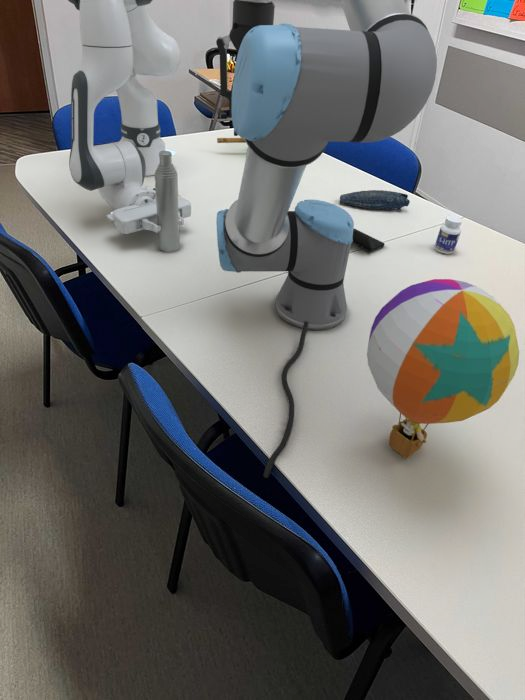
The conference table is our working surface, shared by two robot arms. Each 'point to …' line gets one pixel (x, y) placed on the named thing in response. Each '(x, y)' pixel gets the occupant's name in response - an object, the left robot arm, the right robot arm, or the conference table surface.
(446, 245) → the pill bottle
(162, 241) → the bottle
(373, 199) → the fish model
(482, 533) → the conference table surface
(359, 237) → the handheld gaming console
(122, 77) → the left robot arm
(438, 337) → the toy
